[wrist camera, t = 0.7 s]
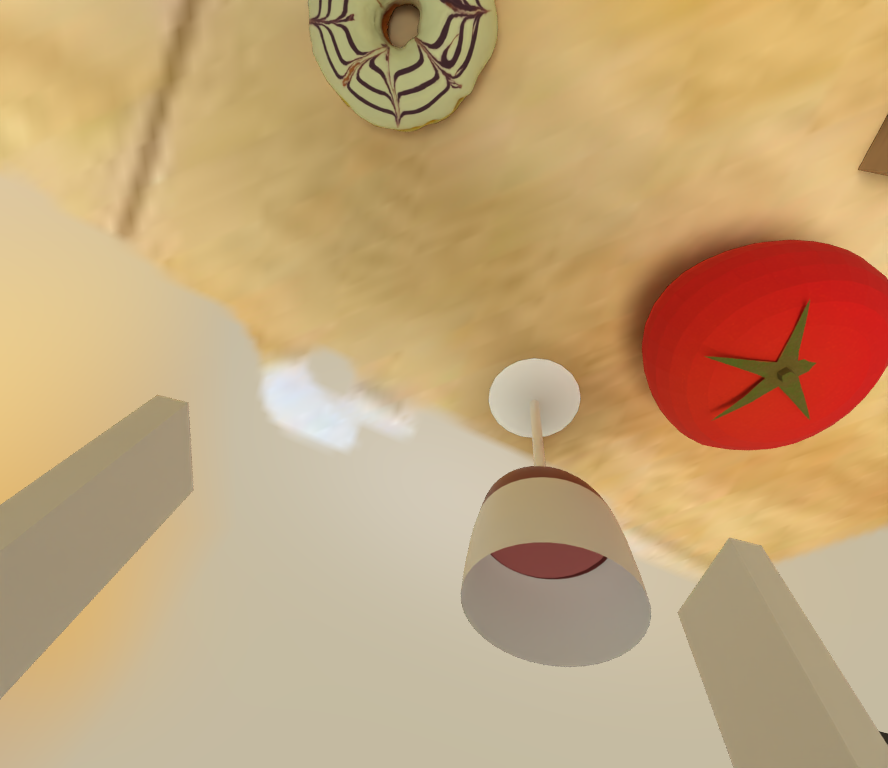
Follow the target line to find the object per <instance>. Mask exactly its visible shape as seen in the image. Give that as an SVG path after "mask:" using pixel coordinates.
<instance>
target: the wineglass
mask: <svg viewBox="0 0 888 768" xmlns="http://www.w3.org/2000/svg"><path fill="white" fill-rule="evenodd" d="M580 399H581V398H580V391H579V386H578V384H577V382H576V380H575V379H574V377H573V375H572V374H571V373H570V372H569V371H568V370H566V369H565V368H564V367H563V366H562V365H559V364H557V363H555V362H552V361H550V360H545V359H536V358H532V359H526V360H521V361H517V362H515V363H514V364H512V365H510V366H508V367H506V368H505V369H504V370H503V371H502V372H501V373H499V374H498V375H497V376H496V378H495V380H494V382H493V384H492V386H491V388H490V393H489V405H490V409H491V413H492V414H493V416H494V417H495V419H496V420H497V422H498V423H499V424H500V425H501V426H502V427H504V428H505V429H506V430H507V431H509V432H511V433H514V434H516V435H519V436H522V437H531V438H532V442H533V455H534V466H530V467H523V468H520V469H516V470H514V471H512V472H509V473H508V474H506V475H505V476H503V477H502V478H500V479H499V480H498V481H497V482H496V483H495V484H494V485H493V486H492V487H491V489H490V490H489V492H488V493H487V495H486V497H485V500H484V502H483V504H482V507H481V509H480V512H479V514H478V517H477V520H476V523H475V525H474V528H473V532H472V535H471V540H470V544H469V548H468V553H467V557H466V563H465V568H464V574H463V581H462V589H461V603H462V607H463V610H464V613H465V615H466V617H467V619H468V621H469V622H470V624H471V625H472V626H473V627H474V629H475V630H476V631H477V632H478V633H479V634H480V635H481V636H482V637H483V638H484V639H486V640H487V641H488V642H490V643H491V644H492V645H494V646H496V647H497V648H499V649H501V650H503V651H504V652H506V653H509V654H511V655H513V656H515V657H518V658H521V659H524V660H527V661H530V662H534V663H539V664H543V665H551V666H561V667H577V666H587V665H594V664H599V663H603V662H606V661H609V660H612V659H614V658H617V657H619V656H621V655H623V654H624V653H626V652H628V651H629V650H631V649H632V648H633V647H634V646H635V645H637V644H638V643H639V642H640V640H641V639H642V638H643V637H644V635H645V634H646V631H647V629H648V627H649V623H650V619H651V607H650V603H649V600H648V596H647V593H646V590H645V587H644V584H643V581H642V578H641V575H640V573H639V570H638V568H637V565H636V563H635V560H634V558H633V555H632V552H631V550H630V547H629V545H628V542H627V540H626V538H625V536H624V534H623V532H622V530H621V528H620V526H619V524H618V522H617V520H616V518H615V516H614V514H613V513H612V511H611V509H610V508H609V507H608V505H607V504H606V503H605V501H604V500H603V499H602V498H601V496H600V495H599V494H598V493H597V492H596V491H595V490H594V489H593V488H592V487H590V486H589V485H588V484H587V483H586V482H584V481H583V480H581V479H580V478H578V477H576V476H574V475H572V474H570V473H568V472H566V471H563V470H560V469H556V468H552V467H546V462H545V453H544V444H543V437H544V436H549V435H551V434H554V433H556V432H558V431H561V430H562V429H563V428H564V427H566V426H567V425H568V424H569V423H570V422H571V421H572V420H573V418H574V416H575V415H576V413H577V412H578V408H579V404H580Z"/></svg>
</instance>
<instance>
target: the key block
mask: <svg viewBox="0 0 888 768" xmlns="http://www.w3.org/2000/svg"><path fill="white" fill-rule="evenodd" d="M858 170H862V171H867V172H872V173H877V174H882V175H887V176H888V115H887V117H886V119H885V121H884V123H883V125H882V127H881V128H880V130H879V132H878V134H877V136H876V138H875V139H874V141H873V143H872V145H871V147H870V149H869V151H868V152H867V154H866V156H865V158H864V160H863V162H862V163H861V165H860V167H859V169H858Z"/></svg>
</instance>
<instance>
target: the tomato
mask: <svg viewBox="0 0 888 768" xmlns="http://www.w3.org/2000/svg"><path fill="white" fill-rule="evenodd" d="M642 354H643V364H644V371H645V375H646V378H647V381H648V385H649V388H650V390H651V393H652V396H653V397H654V399H655V401H656V403H657V405H658V407H659V409H660V410H661V411H662V413H663V414H664V415H665V416H666V418H667V419H668V420H669V421H670V422H671V423H672V424H673V425H674V426H675V427H676V428H677V429H678V430H679V431H680V432H681V433H683V434H684V435H685V436H687V437H688V438H690V439H692V440H694V441H696V442H698V443H700V444H702V445H707V446H712V447H717V448H724V449H731V450H760V449H771V448H777V447H782V446H786V445H790V444H794V443H797V442H799V441H801V440H804V439H806V438H809V437H811V436H814V435H815V434H817V433H819V432H821V431H823V430H825V429H826V428H828V427H830V426H832V425H833V424H835V423H836V422H837V421H839V420H840V419H841V418H843V417H844V416H845V415H847V414H848V413H849V412H850V411H852V410H853V409H854V408H855V407H856V406H857V405H858V404H859V403H860V402H861V401H862V400H863V399H864V398H865V397H866V395H867V394H868V393H869V392H870V390H871V389H872V388H873V387H874V385H875V384H876V383H877V382H878V380H879V379H880V377H881V375H882V374H883V372H884V371H885V369H886V367H887V366H888V279H887V278H886V276H884V275H883V274H882V273H881V272H879V271H878V270H877V269H876V268H874V267H873V266H872V265H870V264H869V263H868V262H867V261H865V260H864V259H863V258H861V257H859V256H858V255H856V254H854V253H852V252H850V251H848V250H846V249H843V248H839V247H836V246H833V245H830V244H825V243H820V242H814V241H802V240H782V241H771V242H762V243H754V244H750V245H746V246H743V247H739V248H735V249H731V250H728V251H726V252H723V253H721V254H718V255H716V256H713V257H711V258H709V259H706V260H704V261H702V262H700V263H698V264H697V265H695V266H693V267H692V268H690V269H688V270H686V271H685V272H683V273H682V274H681V275H680V276H679V277H678V278H677V279H675V280H674V281H673V282H672V283H671V284H670V285H669V286H668V287H667V288H666V289H665V291H664V292H663V293H662V294H661V296H660V297H659V298H658V300H657V301H656V302H655V304H654V305H653V308H652V310H651V312H650V315H649V317H648V319H647V322H646V324H645V329H644V335H643V341H642Z"/></svg>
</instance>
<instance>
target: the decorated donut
mask: <svg viewBox="0 0 888 768" xmlns="http://www.w3.org/2000/svg"><path fill="white" fill-rule="evenodd" d="M403 4H406V5H408V4H412V5H414V7H416V8H418V9H419V11H420V20H419V24H418V35H417V36H416V37H414V38H413V39H411V40H410V41H409V42H408V43H407V44H406V46H404V47H401V48H398V47H394V46H393V45H392V44H391V42H390V40H389V38H388V33H387V28H388V27H389V26H387V25H388V24H387V23H389V22H388V21H389V19H390V16H391V15H392V13H393V10H394V9H395V8H396V7H398V6H401V5H403ZM308 7H309V31H310V37H311V42H312V49H313V54H314V56H315V58H316V61H317V63H318V64H319V66H320V68H321V71H322V73H323V74H324V76H325V78H326V80H327V81H328V83H329V84H330V85H331V86H332V88H333V89H334V90H335V91H336V92H337V94H338V95H339V96H340V97H341V99H342V100H343V101H344V103H345V104H346V105H347V106H349V107H351V108H352V109H353V111H354V112H355V113H356V114H357V115H359V116H360V117H361V118H363V119H365V120H366V121H368V122H369V123H371V124H373V125H375V126H378V127H384V128H388V129H393V130H397V131H404V132H406V131H414V130H418V129H420V128H422V127H423V126H425V125H428V124H432V123H437V122H439V121H441V120H444V119H446V118H447V117H448V116H450V115H451V114H452V113H453V112H454V111H455V110H456V109H457V108H458V106H459V104H460V102H462V101H463V100H464V98H465V97H466V96H467V95H469V94H470V93H471V92H472V90H473V88H474V85H475V83H476V80H477V78H478V76H479V74H480V73H481V71H482V70H483V68H484V66H485V65H486V63H487V62H488V61H489V59H490V58H491V56H492V53H493V50H494V48H495V45H496V41H497V33H498V20H497V13H496V7H495V1H494V0H308Z"/></svg>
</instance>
